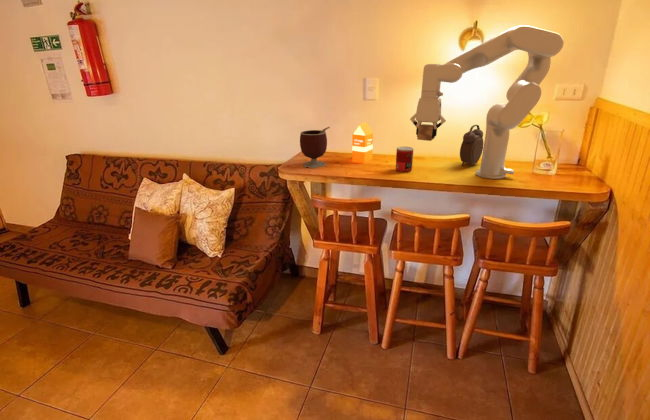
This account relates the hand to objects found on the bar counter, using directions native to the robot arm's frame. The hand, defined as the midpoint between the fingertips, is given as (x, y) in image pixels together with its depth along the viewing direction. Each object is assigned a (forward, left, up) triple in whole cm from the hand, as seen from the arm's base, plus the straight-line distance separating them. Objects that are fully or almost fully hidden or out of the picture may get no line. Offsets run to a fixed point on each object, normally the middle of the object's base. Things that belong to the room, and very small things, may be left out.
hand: (425, 136), depth 158 cm
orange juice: (+36, -11, -18) cm, 42 cm away
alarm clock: (-16, -27, -18) cm, 36 cm away
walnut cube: (0, 0, -1) cm, 1 cm away
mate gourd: (+54, +8, -18) cm, 58 cm away
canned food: (+10, -3, -18) cm, 21 cm away
